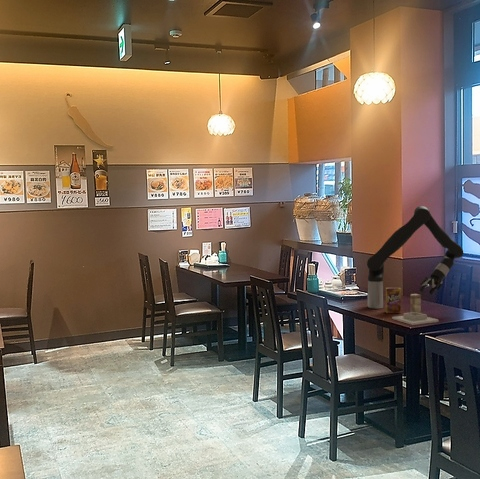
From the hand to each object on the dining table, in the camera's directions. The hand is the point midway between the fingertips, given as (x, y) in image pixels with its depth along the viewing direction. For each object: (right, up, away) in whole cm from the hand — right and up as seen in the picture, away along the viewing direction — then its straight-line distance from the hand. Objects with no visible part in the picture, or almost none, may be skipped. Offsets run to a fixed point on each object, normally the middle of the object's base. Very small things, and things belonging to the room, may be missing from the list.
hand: (424, 292), depth 350 cm
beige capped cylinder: (-6, -13, -2) cm, 14 cm away
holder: (-11, -14, -18) cm, 26 cm away
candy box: (-18, -13, +5) cm, 23 cm away
